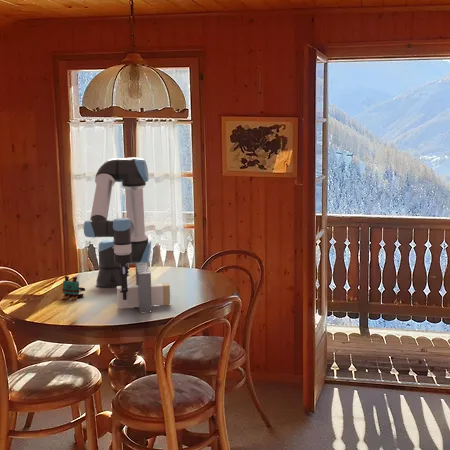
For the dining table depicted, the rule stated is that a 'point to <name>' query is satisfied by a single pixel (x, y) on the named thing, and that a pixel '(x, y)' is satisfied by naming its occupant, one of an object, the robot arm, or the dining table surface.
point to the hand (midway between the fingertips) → (124, 304)
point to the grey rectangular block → (158, 295)
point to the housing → (144, 287)
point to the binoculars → (71, 288)
